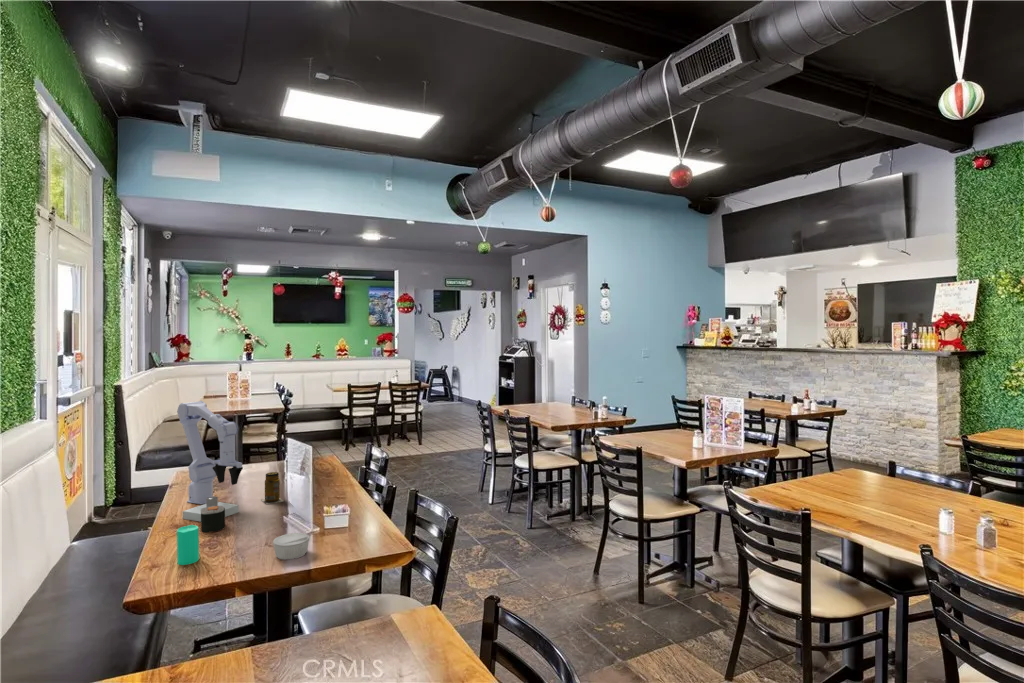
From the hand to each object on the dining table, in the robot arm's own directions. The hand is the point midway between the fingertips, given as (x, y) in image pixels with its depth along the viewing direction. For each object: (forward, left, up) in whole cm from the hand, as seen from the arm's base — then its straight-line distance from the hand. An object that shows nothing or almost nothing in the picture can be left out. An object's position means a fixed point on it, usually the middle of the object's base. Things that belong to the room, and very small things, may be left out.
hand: (227, 483), depth 233 cm
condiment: (+12, +13, -10) cm, 20 cm away
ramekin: (+64, -31, -10) cm, 72 cm away
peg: (+4, -11, -10) cm, 15 cm away
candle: (+37, -47, -10) cm, 61 cm away
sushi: (+18, -22, -10) cm, 30 cm away
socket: (+4, -11, -10) cm, 15 cm away
